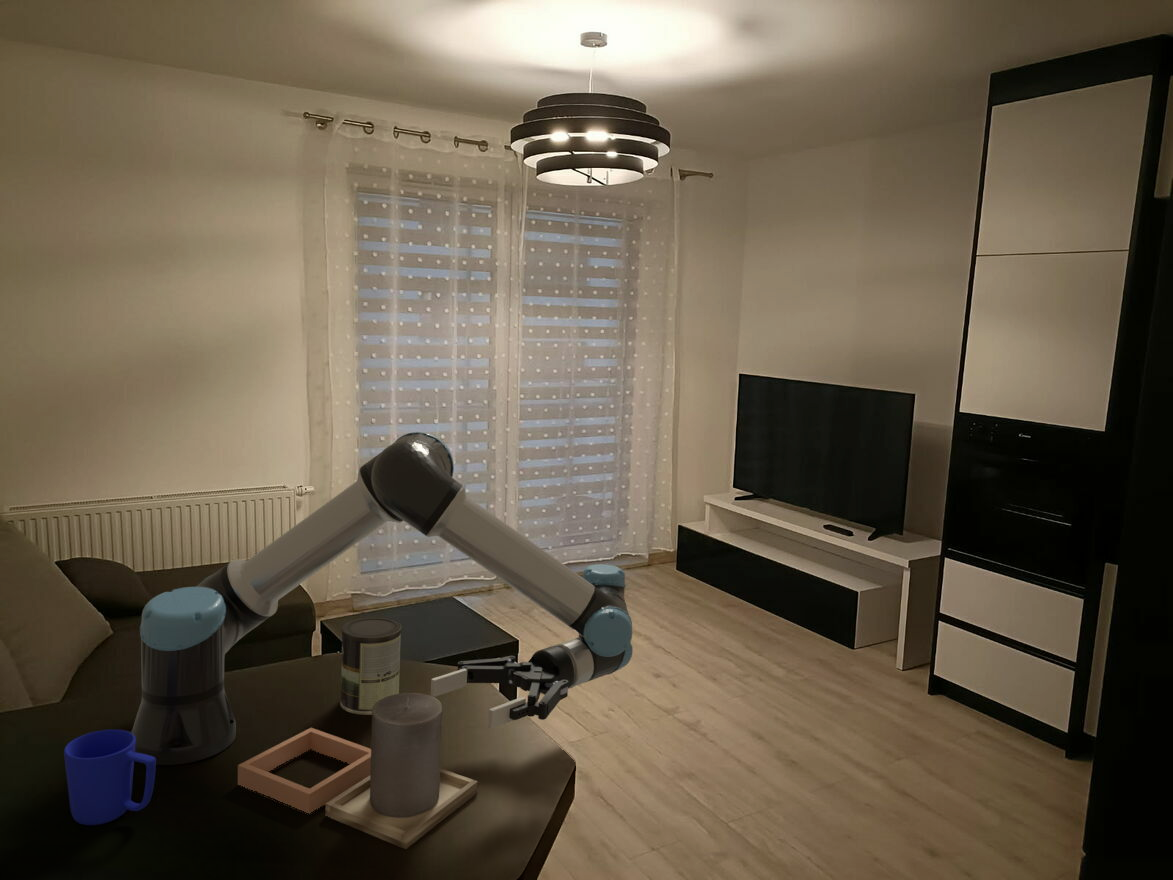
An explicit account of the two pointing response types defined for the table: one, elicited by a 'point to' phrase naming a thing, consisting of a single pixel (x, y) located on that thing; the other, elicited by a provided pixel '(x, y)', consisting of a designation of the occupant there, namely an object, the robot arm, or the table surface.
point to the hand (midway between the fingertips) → (460, 703)
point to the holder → (300, 797)
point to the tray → (403, 830)
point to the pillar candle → (405, 754)
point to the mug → (104, 776)
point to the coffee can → (369, 663)
